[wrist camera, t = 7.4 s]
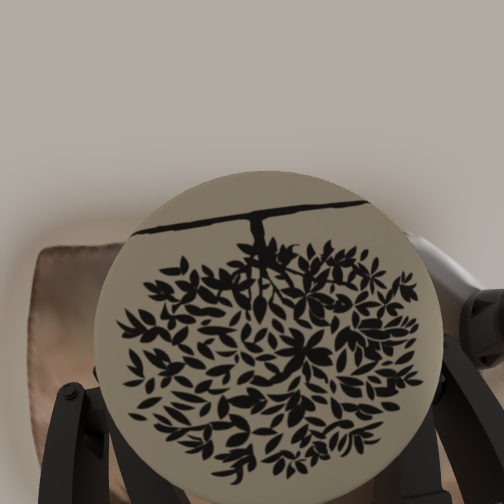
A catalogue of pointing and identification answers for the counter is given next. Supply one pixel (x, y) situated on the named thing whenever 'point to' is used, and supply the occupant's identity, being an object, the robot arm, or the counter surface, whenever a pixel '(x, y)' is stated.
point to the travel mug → (268, 340)
